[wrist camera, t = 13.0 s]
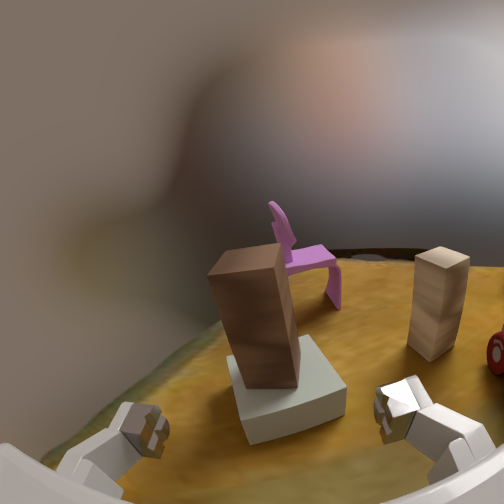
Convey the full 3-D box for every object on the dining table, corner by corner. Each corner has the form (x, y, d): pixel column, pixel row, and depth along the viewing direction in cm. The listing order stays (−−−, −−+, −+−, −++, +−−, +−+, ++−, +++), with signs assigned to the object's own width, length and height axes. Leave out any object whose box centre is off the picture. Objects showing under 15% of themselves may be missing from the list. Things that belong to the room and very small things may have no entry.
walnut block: (301, 353, 22) (280, 242, 18) (297, 388, 18) (273, 267, 15) (255, 355, 23) (225, 250, 19) (246, 389, 19) (206, 275, 16)
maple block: (431, 329, 25) (440, 246, 22) (453, 346, 21) (470, 256, 18) (406, 343, 24) (415, 255, 21) (429, 362, 20) (446, 268, 17)
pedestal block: (310, 364, 26) (308, 334, 25) (344, 417, 18) (347, 386, 17) (235, 385, 25) (226, 356, 24) (250, 447, 17) (240, 420, 16)
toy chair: (346, 312, 33) (338, 195, 29) (281, 327, 33) (261, 208, 29) (328, 287, 41) (318, 190, 37) (273, 298, 41) (256, 200, 37)
